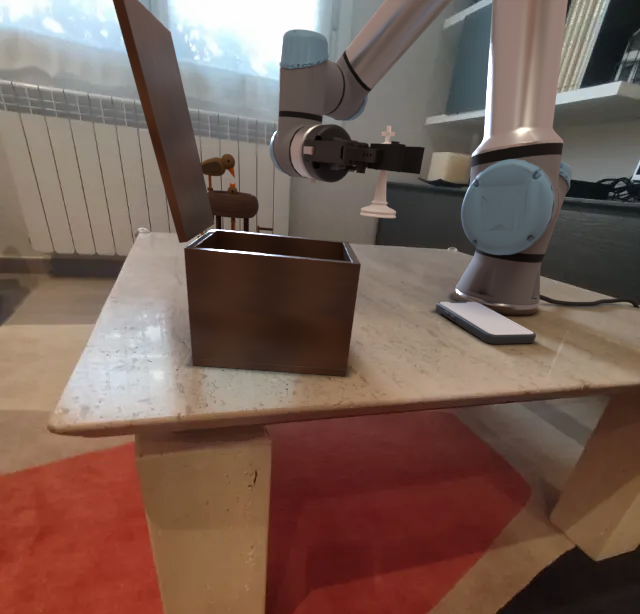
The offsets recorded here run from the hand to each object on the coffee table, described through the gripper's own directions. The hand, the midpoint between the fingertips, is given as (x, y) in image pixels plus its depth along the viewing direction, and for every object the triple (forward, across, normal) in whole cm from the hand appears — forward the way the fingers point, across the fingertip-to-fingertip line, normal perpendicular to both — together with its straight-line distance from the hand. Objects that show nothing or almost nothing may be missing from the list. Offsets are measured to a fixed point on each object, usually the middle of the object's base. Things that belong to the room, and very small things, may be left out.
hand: (410, 159), depth 49 cm
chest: (+2, +17, -21) cm, 27 cm away
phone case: (+1, -19, -21) cm, 28 cm away
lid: (-2, +26, 0) cm, 26 cm away
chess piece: (-5, 0, -7) cm, 9 cm away
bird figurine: (-34, +12, -21) cm, 42 cm away
